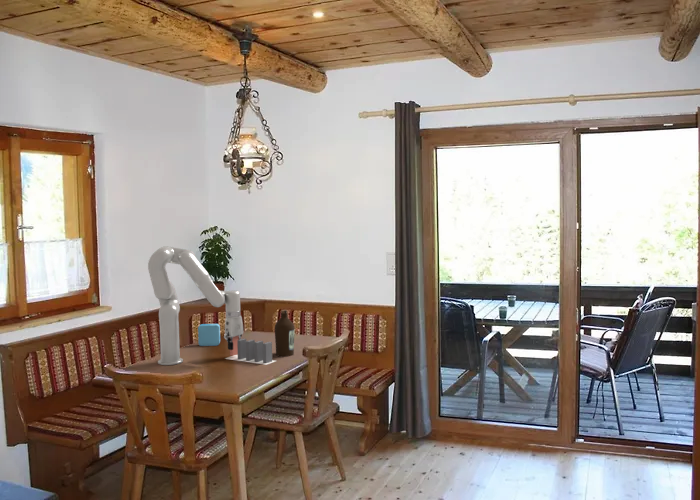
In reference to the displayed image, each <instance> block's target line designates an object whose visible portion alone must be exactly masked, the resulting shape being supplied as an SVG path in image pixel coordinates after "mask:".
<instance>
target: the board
mask: <svg viewBox="0 0 700 500" xmlns="http://www.w3.org/2000/svg"><path fill="white" fill-rule="evenodd" d="M224 359H226V360H233V361H237V362H247V363H252V364H257V365H258V364H260V365H264V366H265V365H266V366H267V365H270V364H272V363H275V362H276V360H273V359H272V362H269V363H263V360H262V361H260V362H255V359H253V360H250V361H246V358H244V359H241V360H240V359H238V354H237V355H234V356H231V355H230V356H228V357H225V358H224Z"/></svg>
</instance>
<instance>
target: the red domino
mask: <svg viewBox="0 0 700 500" xmlns="http://www.w3.org/2000/svg"><path fill="white" fill-rule="evenodd" d="M229 338H230V339H231V337H229ZM237 340H239V336H235V337H233V340H232V342H233V350H229V355H230V357H231V356H234V355H238V347H237Z"/></svg>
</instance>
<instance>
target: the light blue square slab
mask: <svg viewBox="0 0 700 500" xmlns="http://www.w3.org/2000/svg"><path fill="white" fill-rule="evenodd" d="M197 332H198V333H197V336H198V337H197V339H198V340H197V341H198V345H199V346H200V347H210V346H212V347H215V346H219V345H220V343H221V325H220V324H219V323H202V324H199V325H198V327H197Z"/></svg>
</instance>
